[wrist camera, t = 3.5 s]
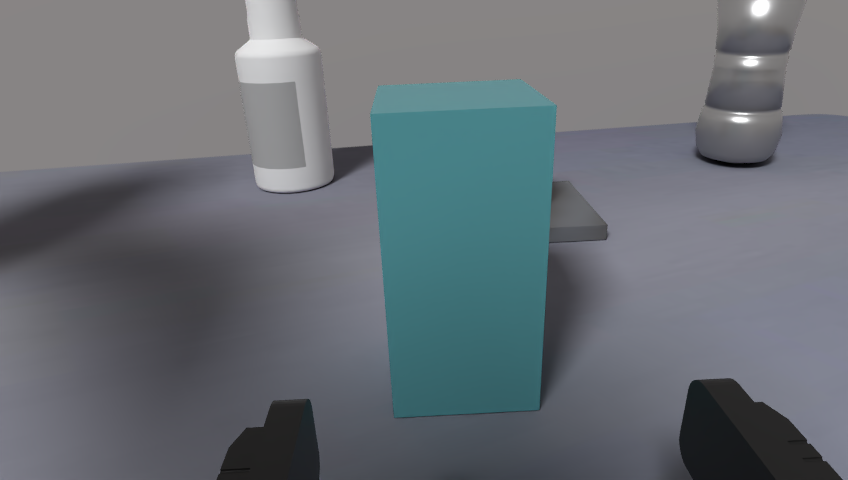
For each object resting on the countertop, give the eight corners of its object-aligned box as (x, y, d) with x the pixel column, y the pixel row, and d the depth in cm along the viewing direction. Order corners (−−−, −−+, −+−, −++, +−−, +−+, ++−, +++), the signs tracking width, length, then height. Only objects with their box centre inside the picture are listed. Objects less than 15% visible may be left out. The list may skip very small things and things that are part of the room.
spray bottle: (258, 174, 52) (222, -42, 44) (332, 167, 53) (308, -44, 46) (254, 198, 46) (211, -48, 38) (337, 189, 47) (311, -51, 40)
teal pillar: (394, 417, 21) (370, 113, 17) (395, 335, 26) (378, 85, 22) (539, 410, 21) (556, 105, 17) (513, 329, 27) (520, 79, 22)
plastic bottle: (752, 176, 46) (812, -108, 38) (676, 160, 51) (713, -94, 43) (788, 161, 49) (850, -102, 41) (713, 147, 54) (754, -90, 46)
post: (465, 246, 35) (464, 120, 32) (453, 198, 44) (451, 94, 40) (606, 239, 35) (619, 113, 32) (568, 193, 44) (575, 89, 40)
